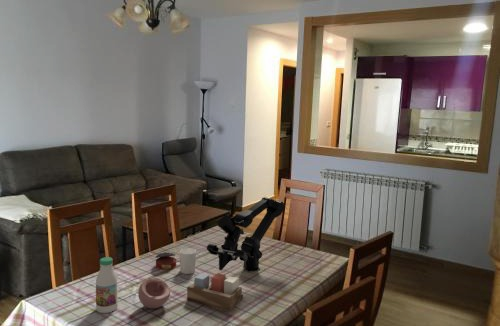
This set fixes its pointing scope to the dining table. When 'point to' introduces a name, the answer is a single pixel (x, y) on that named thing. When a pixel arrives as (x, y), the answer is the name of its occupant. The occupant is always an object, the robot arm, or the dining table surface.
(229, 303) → the key console
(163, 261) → the canned food
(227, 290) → the white key
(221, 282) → the red key
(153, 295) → the pink round pot
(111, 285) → the milk bottle
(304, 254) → the dining table surface
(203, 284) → the grey rectangular block
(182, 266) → the white cup
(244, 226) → the robot arm
